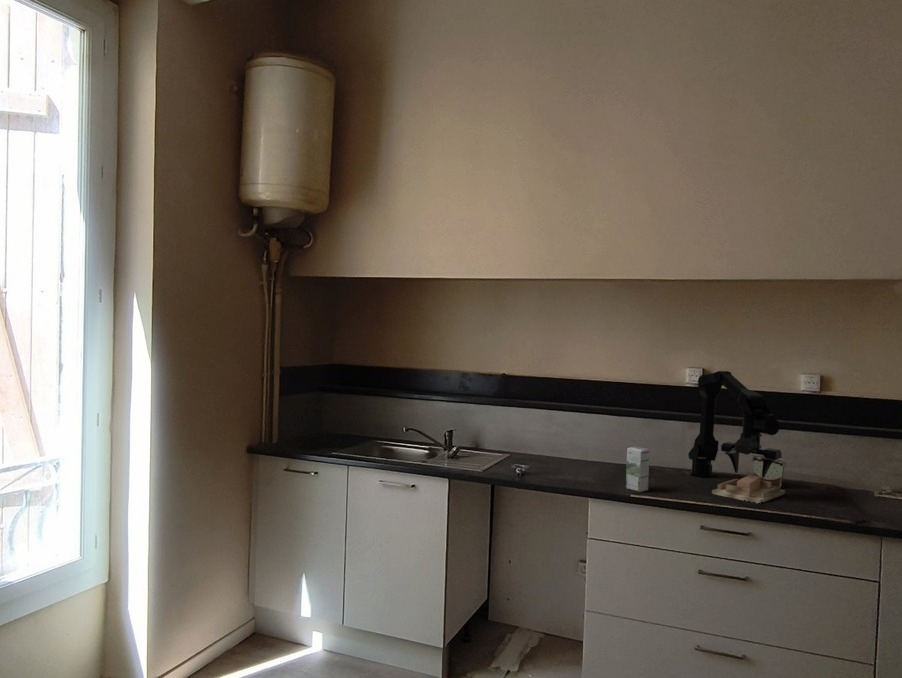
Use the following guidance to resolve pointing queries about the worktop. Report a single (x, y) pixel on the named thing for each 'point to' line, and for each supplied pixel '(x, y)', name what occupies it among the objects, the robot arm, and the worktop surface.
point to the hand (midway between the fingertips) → (749, 475)
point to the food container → (769, 470)
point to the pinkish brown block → (750, 482)
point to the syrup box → (637, 469)
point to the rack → (748, 491)
